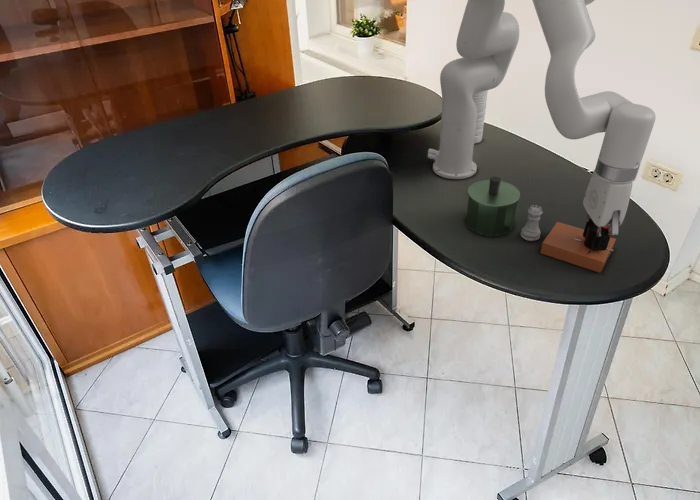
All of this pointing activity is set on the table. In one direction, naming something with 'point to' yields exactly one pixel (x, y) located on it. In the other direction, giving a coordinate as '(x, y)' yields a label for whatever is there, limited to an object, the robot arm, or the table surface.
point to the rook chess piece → (532, 224)
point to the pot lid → (493, 193)
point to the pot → (490, 219)
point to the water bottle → (480, 113)
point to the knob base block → (574, 247)
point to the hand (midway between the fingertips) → (594, 242)
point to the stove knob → (592, 234)
